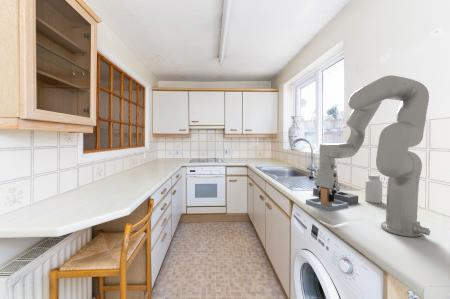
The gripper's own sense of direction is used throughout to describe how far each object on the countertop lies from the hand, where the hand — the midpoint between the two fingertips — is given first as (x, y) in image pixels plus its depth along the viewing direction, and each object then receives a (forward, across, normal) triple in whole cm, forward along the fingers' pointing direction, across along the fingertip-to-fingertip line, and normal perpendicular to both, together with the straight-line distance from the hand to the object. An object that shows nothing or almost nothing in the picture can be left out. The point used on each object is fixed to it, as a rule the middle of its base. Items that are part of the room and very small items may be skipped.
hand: (326, 199), depth 116 cm
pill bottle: (+4, -6, -31) cm, 32 cm away
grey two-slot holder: (+4, +7, -15) cm, 17 cm away
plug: (+3, 0, 0) cm, 3 cm away
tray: (+4, 0, 0) cm, 4 cm away
